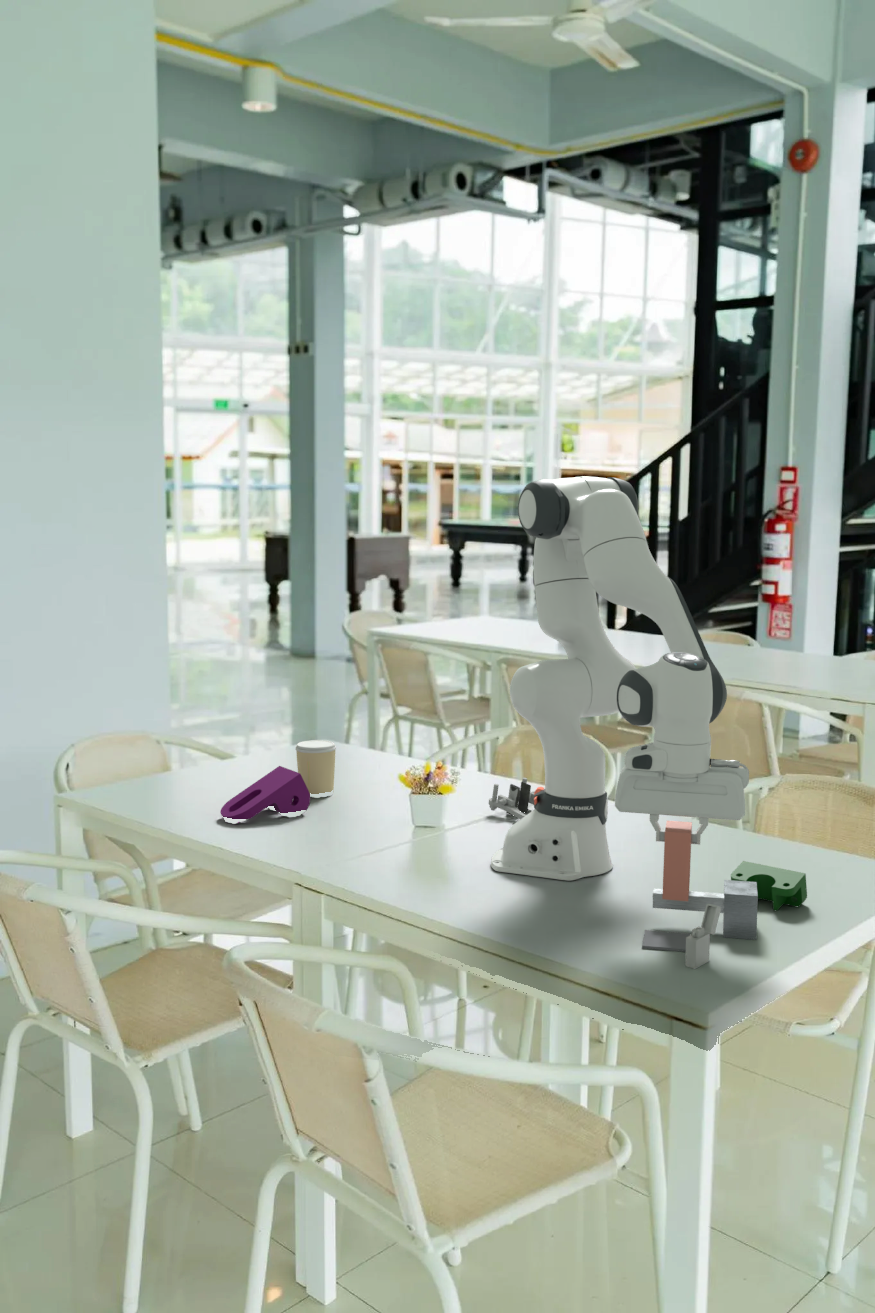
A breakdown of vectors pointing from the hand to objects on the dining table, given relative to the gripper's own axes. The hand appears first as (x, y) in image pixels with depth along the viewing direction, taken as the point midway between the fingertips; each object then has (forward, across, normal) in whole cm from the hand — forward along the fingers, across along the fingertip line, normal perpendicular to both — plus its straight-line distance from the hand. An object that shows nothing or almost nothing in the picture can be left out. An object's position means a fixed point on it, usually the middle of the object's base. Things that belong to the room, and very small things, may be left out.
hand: (678, 842), depth 189 cm
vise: (+14, -5, +1) cm, 14 cm away
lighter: (+14, -5, +15) cm, 20 cm away
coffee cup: (+17, +84, -69) cm, 110 cm away
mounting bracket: (+17, +89, -48) cm, 103 cm away
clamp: (+14, -15, -14) cm, 25 cm away
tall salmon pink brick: (+8, 0, 0) cm, 9 cm away
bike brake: (+16, +31, -59) cm, 69 cm away
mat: (+14, +1, +8) cm, 16 cm away
